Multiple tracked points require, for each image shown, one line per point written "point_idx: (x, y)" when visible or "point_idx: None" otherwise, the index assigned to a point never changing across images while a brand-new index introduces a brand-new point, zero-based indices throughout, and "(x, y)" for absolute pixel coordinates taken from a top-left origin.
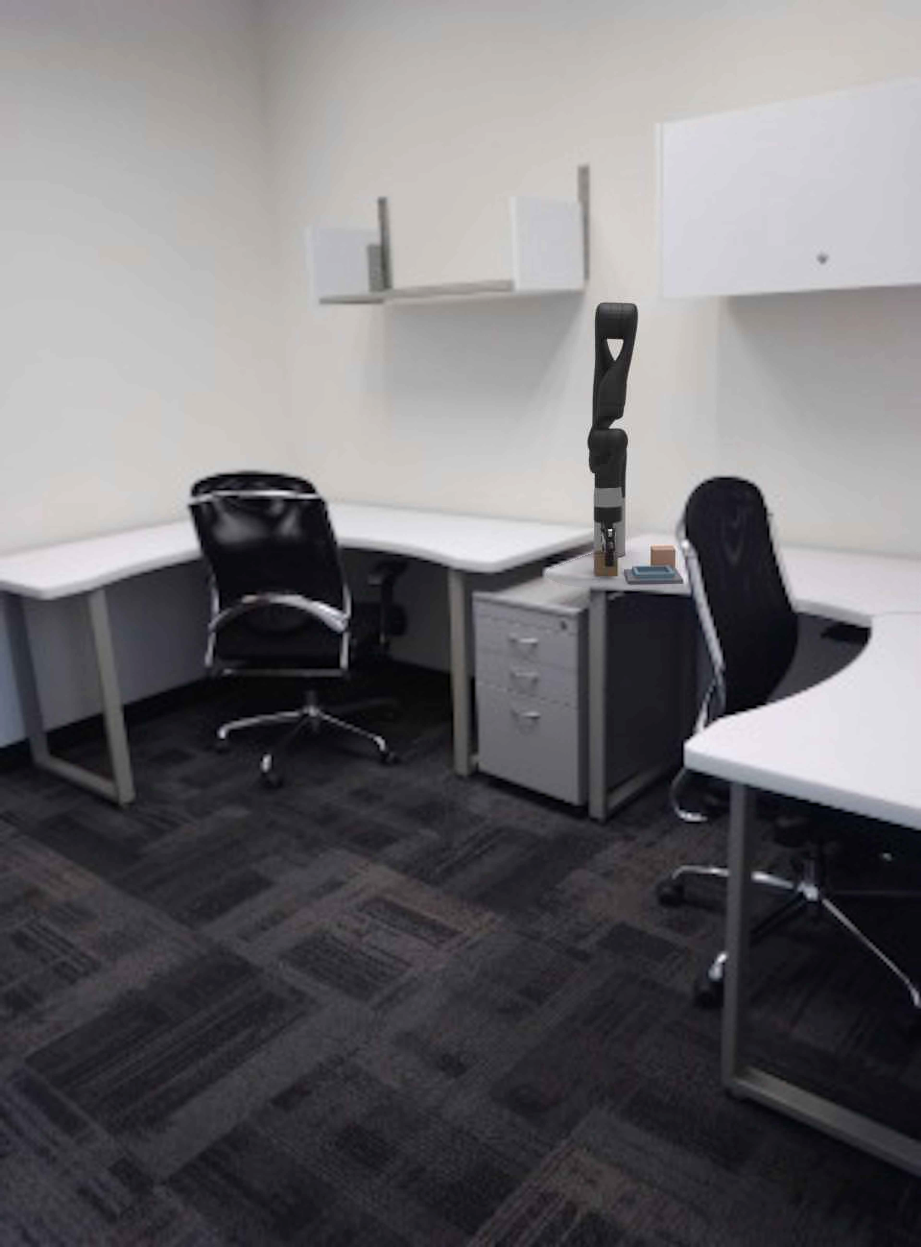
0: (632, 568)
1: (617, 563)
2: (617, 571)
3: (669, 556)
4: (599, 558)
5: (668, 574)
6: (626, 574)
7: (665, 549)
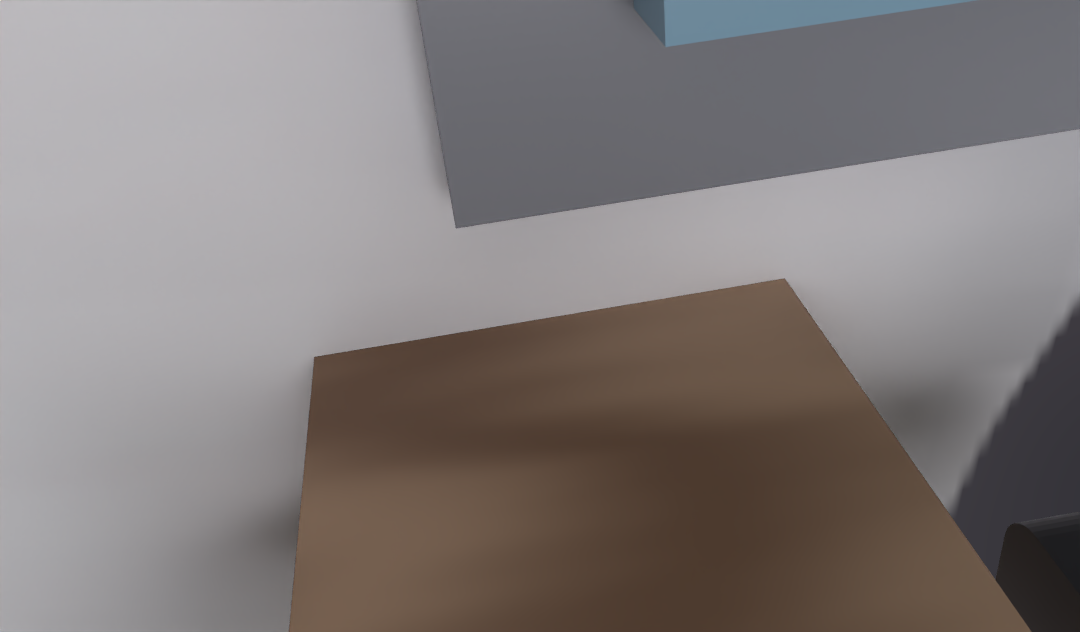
0: (808, 12)
1: (909, 467)
2: (821, 340)
3: None
4: None
5: None
6: (1065, 122)
7: None
